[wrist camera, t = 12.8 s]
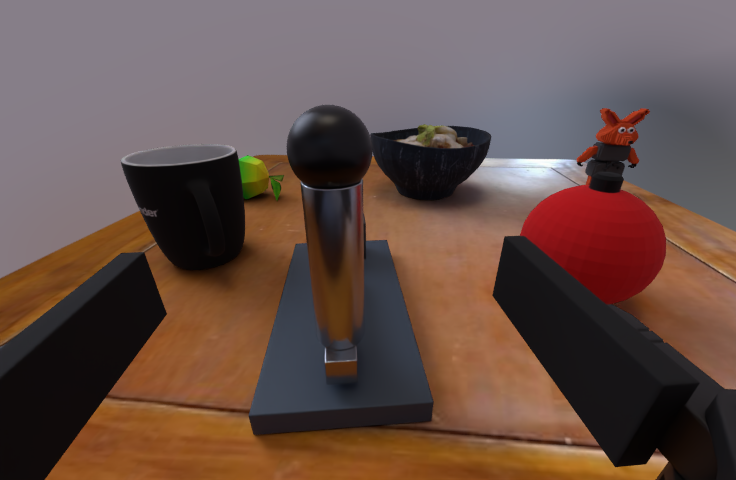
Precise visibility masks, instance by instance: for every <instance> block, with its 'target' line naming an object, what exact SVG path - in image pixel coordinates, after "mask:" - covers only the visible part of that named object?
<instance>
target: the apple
mask: <svg viewBox="0 0 736 480" xmlns="http://www.w3.org/2000/svg"><path fill="white" fill-rule="evenodd" d="M238 160H239V165H240V172H241V179H242V187H243V197H244V199H249V198H251V197H254V196H256V195H258V194H260V193H262V192H264V191H265V190H266V189H267V188H268V182H269V178H271V185H272V189H273V192H274V194H275V197H276V200H278V197H279V194H280V191H281V185H280V183H279V182H277V181H275V180H279V181H282V180H283V177H284V175H279V176H269V174H268V171H267V169H266V167H265V165H264V162H263V161H261V160H258V159H256V158H253V157H251V156H248V155H247V156H245V157H243V158H241V159H238ZM274 179H275V180H274Z"/></svg>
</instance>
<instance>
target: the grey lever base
mask: <svg viewBox="0 0 736 480" xmlns="http://www.w3.org/2000/svg"><path fill="white" fill-rule="evenodd" d="M363 230H364V300H365V334H364V337H363V339H362V340H361V341H360V342H359V343H358V344H357V363H358V383H347V384H332V385H327V384H326V374H325V364H324V360H325V346H323V345H322V344H321V343H320V342H319V341H318V339H317V335H316V326H315V316H314V306H313V297H312V287H311V278H310V268H309V259H308V249H307V243H302V244H296V245H295V249H294V253H293V256H292V260H291V264H290V267H289V271H288V274H287V278H286V282H285V285H284V289H283V293H282V296H281V300H280V304H279V307H278V311H277V315H276V318H275V322H274V325H273V329H272V333H271V336H270V340H269V344H268V347H267V351H266V355H265V358H264V362H263V366H262V369H261V373H260V376H259V380H258V384H257V387H256V391H255V395H254V398H253V402H252V406H251V409H250V413H249V419H250V423H251V426H252V430H253V434H254V435H259V434H271V433H284V432H297V431H309V430H322V429H334V428H347V427H360V426H372V425H385V424H398V423H410V422H423V421H431V418H432V410H433V403H434V401H433V398H432V395H431V391H430V388H429V384H428V381H427V377H426V374H425V370H424V367H423V363H422V360H421V357H420V353H419V350H418V346H417V343H416V339H415V336H414V332H413V329H412V325H411V322H410V319H409V315H408V312H407V308H406V305H405V301H404V298H403V294H402V291H401V288H400V284H399V281H398V277H397V274H396V270H395V267H394V263H393V260H392V256H391V253H390V250H389V246H388V243H387V240H375V241H366V223H365V218H364V213H363Z"/></svg>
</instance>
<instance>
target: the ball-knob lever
mask: <svg viewBox="0 0 736 480" xmlns="http://www.w3.org/2000/svg"><path fill="white" fill-rule="evenodd" d="M287 155H288V160H289V163H290V166H291V168H292V170H293V172H294V173H295V175H296V176H297V177H298V178H299V179H300V180H301V192H302V201H303V211H304V220H305V230H306V240H307V249H308V259H309V268H310V278H311V287H312V297H313V306H314V316H315V326H316V335H317V339H318V341H319V342H320V343H321V344H322V345H323V346H325V360H324V364H325V374H326V384H327V385H332V384H347V383H358V363H357V344H358V343H359V342H360V341H361V340H362V339H363V337H364V334H365V300H364V230H363V180H362V178H363V177H364V175H365V174H366V172H367V170H368V168H369V166H370V163H371V159H372V143H371V138H370V135H369V132H368V130H367V128H366V126H365V125H364V123H363V122H362V121H361V120H360V119H359V118H358V117H357V116H356V115H355V114H354V113H352V112H351V111H349V110H347V109H345V108H343V107H339V106H335V105H321V106H317V107H314V108H311V109H309V110H308V111H306V112H304V113H303V114H302V115H301V116H300V117H299V118H298V119H297V120H296V121H295V123H294V124H293V126H292V128H291V130H290V132H289V135H288V140H287Z"/></svg>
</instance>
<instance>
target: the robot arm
mask: <svg viewBox="0 0 736 480" xmlns="http://www.w3.org/2000/svg"><path fill="white" fill-rule="evenodd" d="M493 297H494V298H495V300H496V301H497V303H498V304H499V305H500V307H501V308H502V310H503V311H504V312H505V314H506V315H507V317H508V318H509V319H510V321H511V322H512V324H513V325H514V326H515V328H516V329H517V330H518V332H519V333H520V335H521V336H522V337H523V339H524V340H525V342H526V343H527V344H528V346H529V347H530V349H531V350H532V351H533V353H534V354H535V356H536V357H537V358H538V360H539V361H540V363H541V364H542V365H543V367H544V368H545V370H546V371H547V372H548V374H549V375H550V377H551V378H552V379H553V381H554V382H555V384H556V385H557V386H558V388H559V389H560V391H561V392H562V393H563V395H564V396H565V398H566V399H567V400H568V402H569V403H570V405H571V406H572V407H573V409H574V410H575V412H576V413H577V414H578V416H579V417H580V419H581V420H582V421H583V423H584V424H585V425H586V427H587V428H588V430H589V431H590V432H591V434H592V435H593V437H594V438H595V439H596V441H597V442H598V444H599V445H600V446H601V448H602V449H603V451H604V452H605V453H606V455H607V456H608V458H609V459H610V460H611V462H612V463H613V465H614V466H615V467H621V466H631V465H642V464H646V463H647V462H648V460H649V459H650V457H651V456H652V454H653V453H654V451H655V450H656V448H657V449H658V450H659V451H660V452H661V453H662V454H663V455H664V457H665V458H666V459H667V460H668V461H669V462H668V463H667V465H666V466H665V468H664V469H663V470H662V472H661V473H660V474H659V476H658V477H657V479H656V480H736V390H733V389H724V388H723V387H722V386H720V385H719V384H718V383H717V382H715V381H714V380H713V379H712V378H710V377H709V376H708V375H707V374H705V373H704V372H703V371H702V370H700V369H699V368H698V367H697V366H695V365H694V364H693V363H692V362H690V361H689V360H688V359H687V358H685V357H684V356H683V355H682V354H680V353H679V352H678V351H677V350H675V349H674V348H673V347H672V346H670V345H669V344H668V343H664V342H663V339H662V338H660V337H659V336H658V335H656V334H655V333H654V332H653V331H649V328H648V327H646V326H645V325H644V324H643V323H641V322H640V321H639V320H638V319H636V318H635V317H634V316H633V315H631V314H629V313H627V312H625V311H623V310H622V309H620V308H618V307H616V306H614V305H612V304H605V303H604V302H603V301H602V300H601V299H599V298H598V297H597V296H596V295H595V294H593V293H592V292H591V291H590V290H589V289H587V288H586V287H585V286H584V285H583V284H581V283H580V282H579V281H578V280H577V279H575V278H574V277H573V276H572V275H571V274H569V273H568V272H567V271H566V270H565V269H563V268H562V267H561V266H560V265H559V264H557V263H556V262H555V261H554V260H553V259H551V258H550V257H549V256H548V255H547V254H545V253H544V252H543V251H542V250H541V249H539V248H538V247H537V246H536V245H535V244H533V243H532V242H531V241H530V240H529V239H527V238H526V237H525V236H505V238H504V242H503V247H502V252H501V257H500V262H499V267H498V272H497V276H496V281H495V286H494V291H493ZM166 315H167V313H166V310H165V308H164V305H163V302H162V300H161V297H160V294H159V291H158V289H157V286H156V283H155V281H154V278H153V275H152V272H151V270H150V267H149V264H148V262H147V259H146V256H145V253H144V252H138V253H121V254H120V255H118V256H117V257H116V258H114V259H113V260H112V261H111V262H109V263H108V264H107V265H106V266H104V267H103V268H102V269H101V270H99V271H98V272H97V273H95V274H94V275H93V276H92V277H90V278H89V279H88V280H87V281H85V282H84V283H83V284H82V285H80V286H79V287H78V288H76V289H75V290H74V291H73V292H71V293H70V294H69V295H68V296H66V297H65V298H64V299H63V300H61V301H60V302H59V303H57V304H56V305H55V306H54V307H52V308H51V309H50V310H49V311H47V312H46V313H45V314H44V315H42V316H41V317H40V318H38V319H37V320H36V321H35V322H33V323H32V324H31V325H30V326H28V327H27V328H26V329H25V330H23V331H22V332H21V333H20V334H18V335H17V336H16V337H14V338H13V339H12V340H11V341H9V342H8V343H7V344H5V345H4V346H2V347H0V480H45V478H46V477H47V476H48V474H49V473H50V472H51V470H52V469H53V467H54V466H55V465H56V463H57V462H58V461H59V459H60V458H61V457H62V455H63V454H64V453H65V451H66V450H67V449H68V447H69V446H70V444H71V443H72V442H73V440H74V439H75V438H76V436H77V435H78V434H79V432H80V431H81V430H82V428H83V427H84V426H85V424H86V423H87V421H88V420H89V419H90V417H91V416H92V415H93V413H94V412H95V411H96V409H97V408H98V407H99V405H100V404H101V403H102V401H103V400H104V398H105V397H106V396H107V394H108V393H109V392H110V390H111V389H112V388H113V386H114V385H115V384H116V382H117V381H118V380H119V378H120V377H121V375H122V374H123V373H124V371H125V370H126V369H127V367H128V366H129V365H130V363H131V362H132V361H133V359H134V358H135V357H136V355H137V354H138V352H139V351H140V350H141V348H142V347H143V346H144V344H145V343H146V342H147V340H148V339H149V338H150V336H151V335H152V334H153V332H154V331H155V329H156V328H157V327H158V325H159V324H160V323H161V321H162V320H163V319H164V317H165V316H166Z"/></svg>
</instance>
